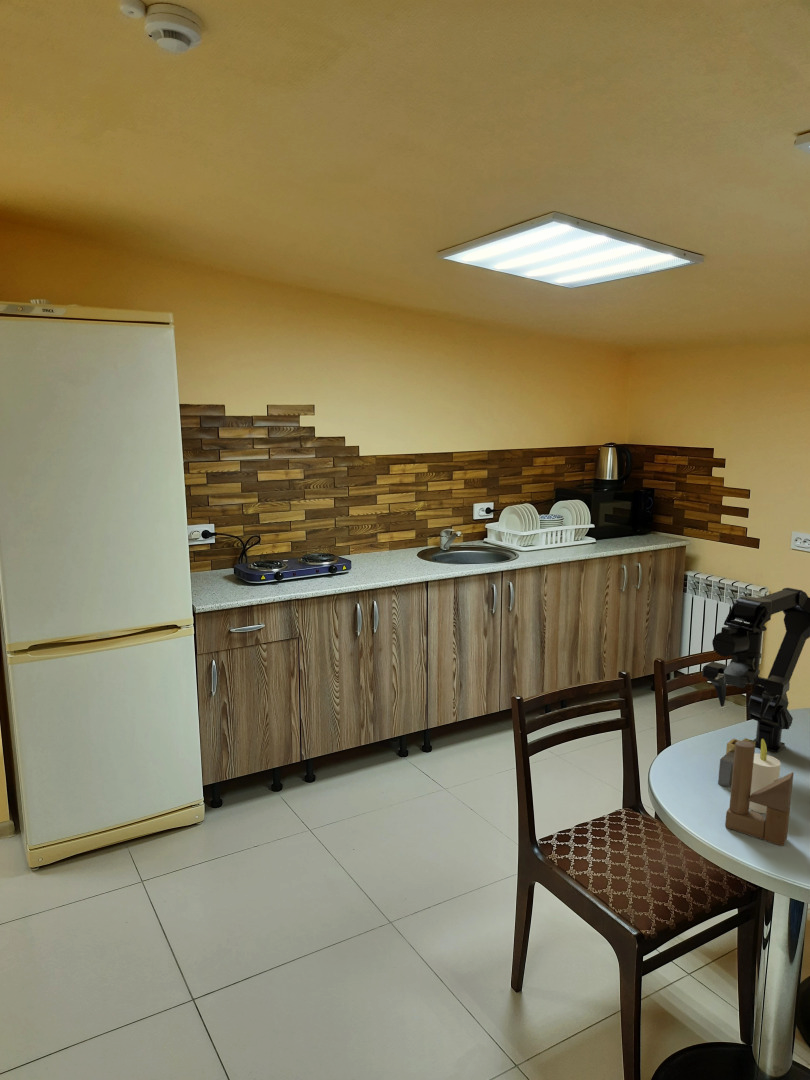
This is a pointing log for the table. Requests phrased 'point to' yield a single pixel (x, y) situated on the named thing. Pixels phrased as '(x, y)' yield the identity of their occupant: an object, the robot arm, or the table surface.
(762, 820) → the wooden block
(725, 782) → the block with metal peg
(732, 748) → the square hoop paddle
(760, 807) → the candle
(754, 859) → the table surface
